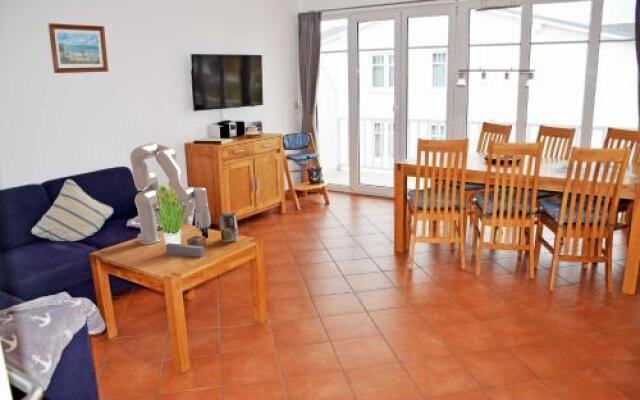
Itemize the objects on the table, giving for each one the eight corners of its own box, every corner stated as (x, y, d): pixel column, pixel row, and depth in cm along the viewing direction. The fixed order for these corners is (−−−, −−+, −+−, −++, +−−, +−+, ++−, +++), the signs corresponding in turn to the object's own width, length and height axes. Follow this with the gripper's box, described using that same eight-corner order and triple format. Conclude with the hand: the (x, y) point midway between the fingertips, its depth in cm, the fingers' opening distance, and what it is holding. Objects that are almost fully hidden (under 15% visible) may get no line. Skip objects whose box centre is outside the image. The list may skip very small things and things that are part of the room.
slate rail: (166, 253, 310) (165, 244, 308) (169, 251, 312) (168, 243, 311) (201, 257, 300) (200, 248, 299) (204, 255, 303) (203, 246, 302)
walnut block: (188, 249, 315) (186, 239, 314) (195, 245, 321) (194, 235, 320) (199, 250, 312) (198, 240, 310) (206, 246, 318) (205, 236, 317)
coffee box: (238, 238, 330) (236, 212, 326) (236, 241, 323) (233, 215, 319) (224, 238, 331) (221, 213, 327) (221, 241, 324) (218, 216, 320)
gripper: (203, 204, 327) (207, 233, 331) (189, 211, 314) (192, 241, 318) (214, 205, 324) (217, 234, 328) (199, 212, 311) (203, 242, 315)
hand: (205, 237), depth 323 cm, fingers closed
